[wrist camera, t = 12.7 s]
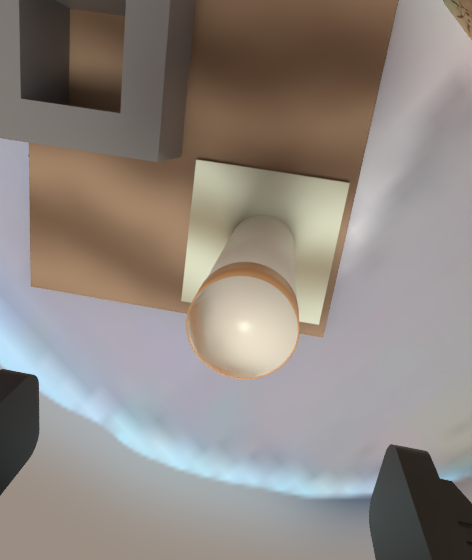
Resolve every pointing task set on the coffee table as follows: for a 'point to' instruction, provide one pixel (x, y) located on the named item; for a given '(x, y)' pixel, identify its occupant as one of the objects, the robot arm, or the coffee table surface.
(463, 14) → the stack of blocks
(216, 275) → the plug
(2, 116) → the grey square frame
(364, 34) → the base board
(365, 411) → the coffee table surface
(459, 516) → the robot arm
